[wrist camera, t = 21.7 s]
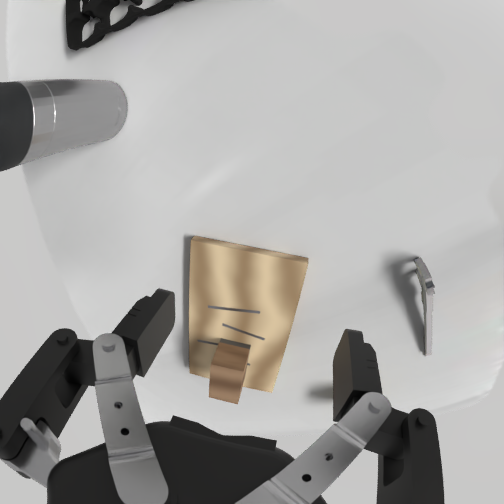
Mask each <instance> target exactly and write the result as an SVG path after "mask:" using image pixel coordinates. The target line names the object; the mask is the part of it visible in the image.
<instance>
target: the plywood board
mask: <svg viewBox="0 0 504 504" xmlns="http://www.w3.org/2000/svg"><path fill="white" fill-rule="evenodd" d="M307 266H308V258H305V257H300V256H295V255H290V254H285V253H280V252H275V251H269V250H264V249H259V248H254V247H249V246H244V245H239V244H234V243H229V242H224V241H219V240H214V239H209V238H203V237H198V236H194V237H193V238H192V239H191V249H190V281H189V369H190V373H191V374H195V375H198V376H202V377H206V378H209V379H210V365H211V362H212V359H213V357H214V354H215V352H216V349H217V347H218V344H219V342H220V339H221V338H223V339H227V340H231V341H236V342H240V343H244V344H249V345H251V348H250V353H249V358H248V364H247V369H246V374H245V379H244V383H243V387H247V388H251V389H256V390H261V391H266V392H271V393H272V391H273V388H274V385H275V382H276V378H277V375H278V372H279V369H280V365H281V362H282V358H283V355H284V352H285V348H286V345H287V341H288V338H289V334H290V331H291V327H292V324H293V320H294V316H295V313H296V309H297V305H298V301H299V298H300V294H301V290H302V286H303V282H304V278H305V274H306V270H307Z"/></svg>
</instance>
